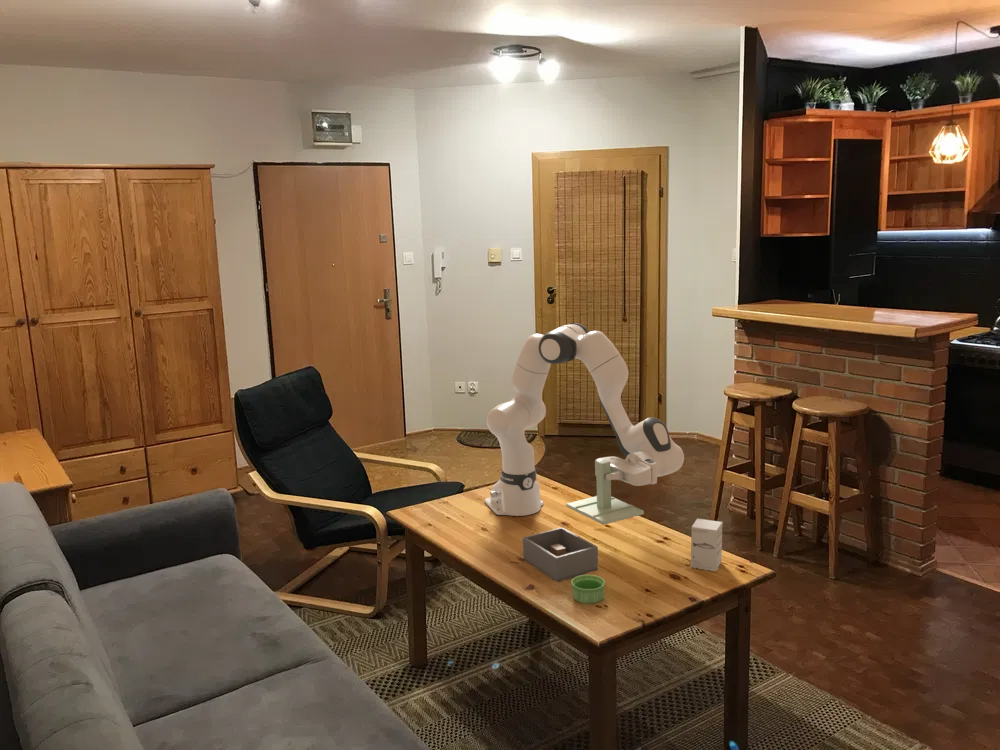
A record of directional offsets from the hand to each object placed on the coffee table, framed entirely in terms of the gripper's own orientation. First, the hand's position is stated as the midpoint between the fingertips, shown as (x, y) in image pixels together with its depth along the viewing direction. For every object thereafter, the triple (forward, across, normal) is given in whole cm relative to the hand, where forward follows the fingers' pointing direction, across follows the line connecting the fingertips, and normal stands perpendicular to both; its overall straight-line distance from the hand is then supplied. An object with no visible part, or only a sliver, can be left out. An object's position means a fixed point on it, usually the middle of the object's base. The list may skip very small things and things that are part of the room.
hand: (601, 475), depth 233 cm
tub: (+15, 0, +24) cm, 28 cm away
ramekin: (+20, +21, +25) cm, 38 cm away
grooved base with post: (-1, 0, +11) cm, 11 cm away
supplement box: (-19, +24, +25) cm, 39 cm away
